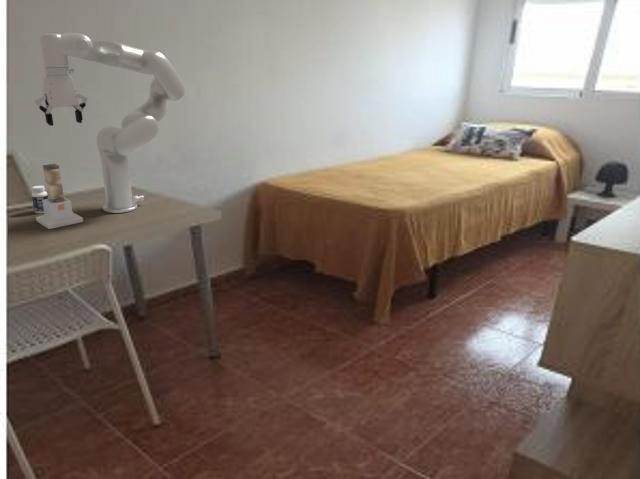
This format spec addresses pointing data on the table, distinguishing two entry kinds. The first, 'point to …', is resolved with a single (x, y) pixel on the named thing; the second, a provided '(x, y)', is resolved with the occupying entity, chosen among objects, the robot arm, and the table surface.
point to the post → (53, 182)
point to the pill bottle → (38, 198)
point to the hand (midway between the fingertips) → (65, 123)
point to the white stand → (58, 214)
